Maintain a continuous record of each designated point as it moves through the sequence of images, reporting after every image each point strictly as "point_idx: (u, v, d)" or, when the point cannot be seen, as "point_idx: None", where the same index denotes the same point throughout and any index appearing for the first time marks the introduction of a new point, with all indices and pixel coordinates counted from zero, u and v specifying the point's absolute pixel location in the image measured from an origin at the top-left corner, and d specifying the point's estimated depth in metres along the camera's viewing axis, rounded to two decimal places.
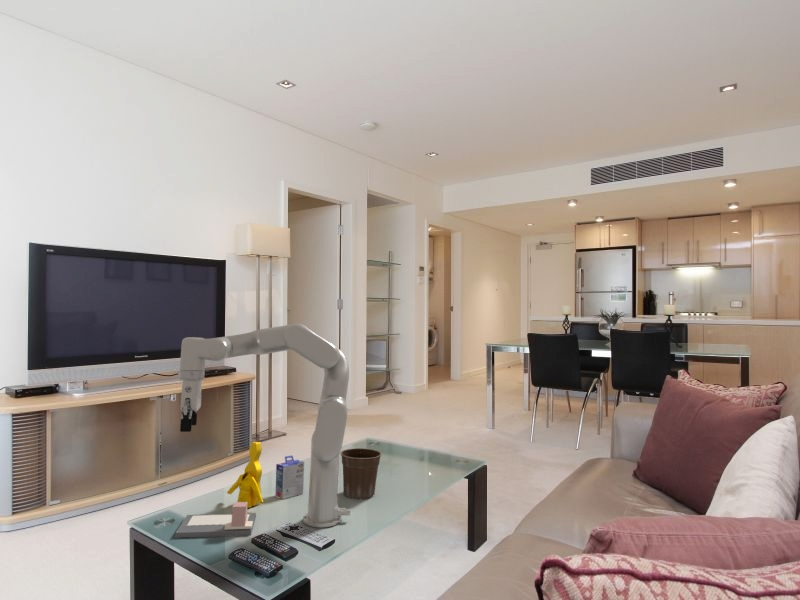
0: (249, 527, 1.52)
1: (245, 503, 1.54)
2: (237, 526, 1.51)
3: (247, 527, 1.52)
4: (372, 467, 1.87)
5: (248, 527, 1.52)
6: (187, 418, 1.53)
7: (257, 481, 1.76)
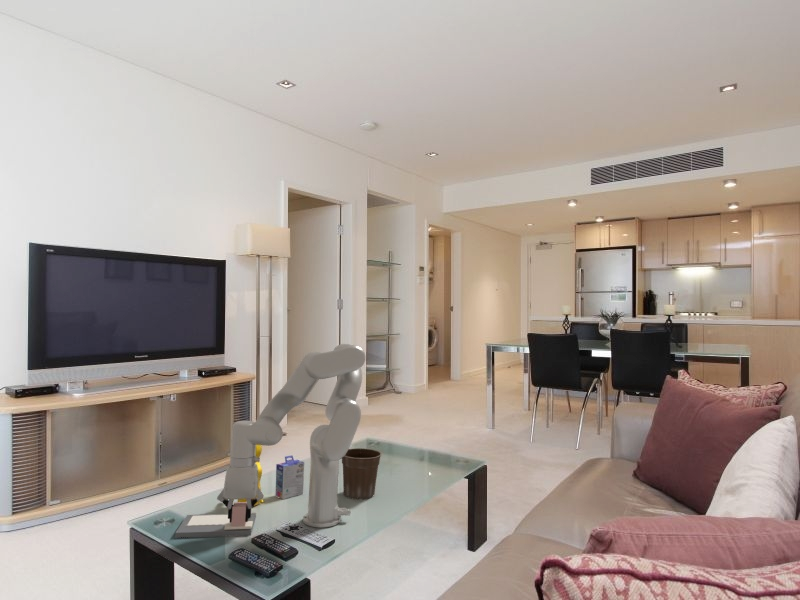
0: (249, 527, 1.52)
1: (245, 503, 1.54)
2: (237, 526, 1.51)
3: (247, 527, 1.52)
4: (372, 467, 1.87)
5: (248, 527, 1.52)
6: None
7: None
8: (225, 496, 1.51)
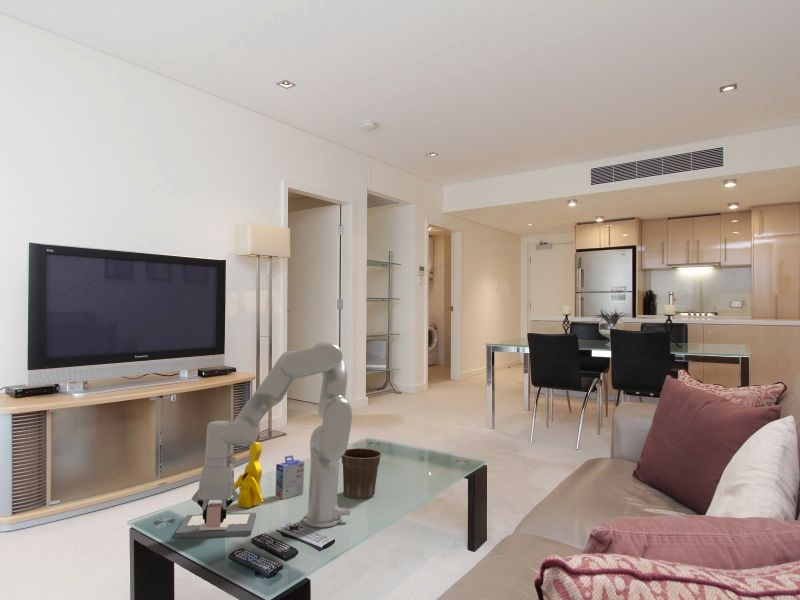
0: (224, 528, 1.50)
1: (220, 504, 1.53)
2: (212, 527, 1.50)
3: (222, 528, 1.50)
4: (372, 467, 1.87)
5: (223, 527, 1.50)
6: None
7: (257, 481, 1.76)
8: (200, 497, 1.50)
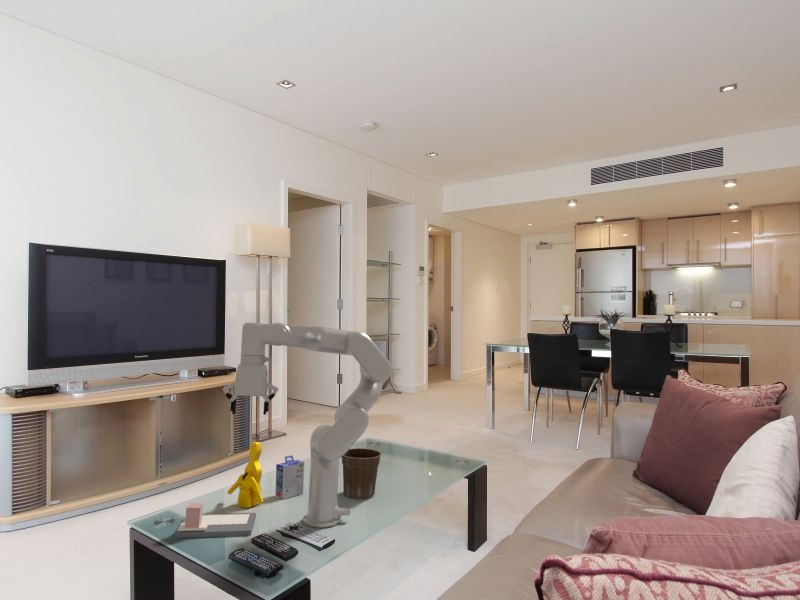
0: (203, 528, 1.49)
1: (200, 504, 1.52)
2: (191, 527, 1.49)
3: (201, 528, 1.49)
4: (372, 467, 1.87)
5: (203, 528, 1.49)
6: None
7: (257, 481, 1.76)
8: (236, 392, 1.55)
